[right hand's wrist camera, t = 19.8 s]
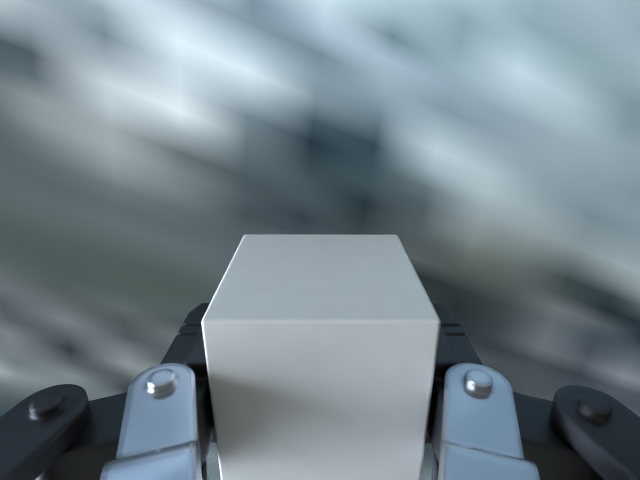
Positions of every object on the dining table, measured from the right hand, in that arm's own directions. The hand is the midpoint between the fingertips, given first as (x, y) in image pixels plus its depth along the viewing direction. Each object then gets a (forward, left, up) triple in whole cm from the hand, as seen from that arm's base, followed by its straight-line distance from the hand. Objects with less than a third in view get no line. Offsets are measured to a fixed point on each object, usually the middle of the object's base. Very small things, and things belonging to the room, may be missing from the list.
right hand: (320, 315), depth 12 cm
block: (0, 0, -1) cm, 1 cm away
